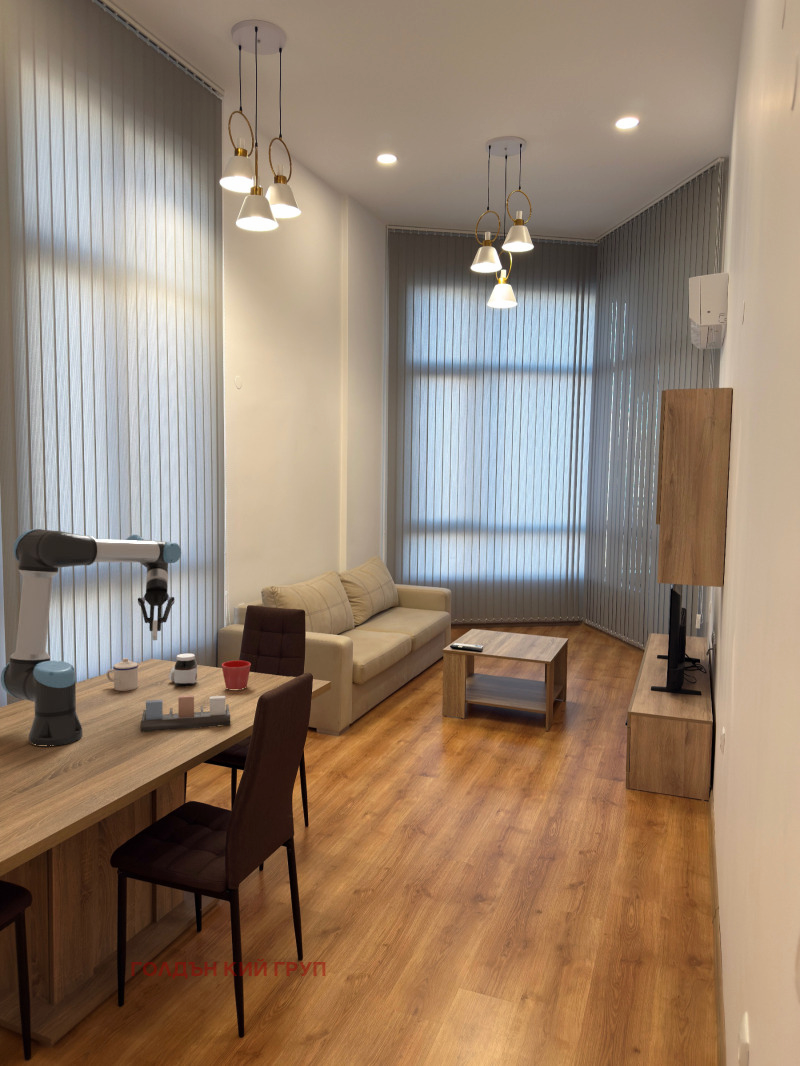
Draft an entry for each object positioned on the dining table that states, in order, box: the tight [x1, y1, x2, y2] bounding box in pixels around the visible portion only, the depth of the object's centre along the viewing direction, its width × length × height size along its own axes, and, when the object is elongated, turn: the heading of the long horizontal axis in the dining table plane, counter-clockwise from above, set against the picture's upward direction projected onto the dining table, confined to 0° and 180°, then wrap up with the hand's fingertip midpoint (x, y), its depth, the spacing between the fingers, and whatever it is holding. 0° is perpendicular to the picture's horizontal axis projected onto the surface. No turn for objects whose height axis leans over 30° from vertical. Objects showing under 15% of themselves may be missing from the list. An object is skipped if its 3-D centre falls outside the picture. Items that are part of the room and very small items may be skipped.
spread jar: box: [168, 653, 198, 688], centre depth 297 cm, size 12×11×12 cm
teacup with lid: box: [106, 657, 139, 692], centre depth 290 cm, size 12×9×12 cm
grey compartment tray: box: [140, 704, 231, 733], centre depth 250 cm, size 12×28×4 cm, turn 105°
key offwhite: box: [209, 695, 226, 716], centre depth 249 cm, size 2×5×7 cm, turn 105°
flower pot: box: [221, 659, 252, 689], centre depth 291 cm, size 11×11×10 cm
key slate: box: [145, 699, 164, 720], centre depth 244 cm, size 2×5×7 cm, turn 105°
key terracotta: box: [177, 694, 195, 718], centre depth 250 cm, size 2×5×7 cm, turn 105°
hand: (154, 638), depth 261 cm, fingers closed
